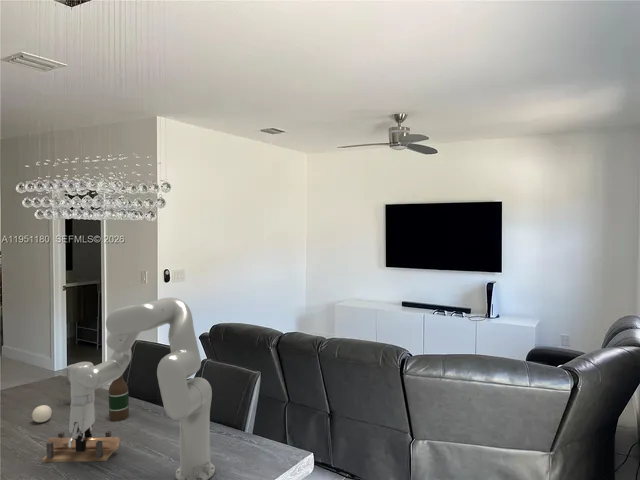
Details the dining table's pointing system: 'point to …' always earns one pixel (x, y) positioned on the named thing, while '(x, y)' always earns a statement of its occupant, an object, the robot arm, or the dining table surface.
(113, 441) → the tube
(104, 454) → the base
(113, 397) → the beer bottle
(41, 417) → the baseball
